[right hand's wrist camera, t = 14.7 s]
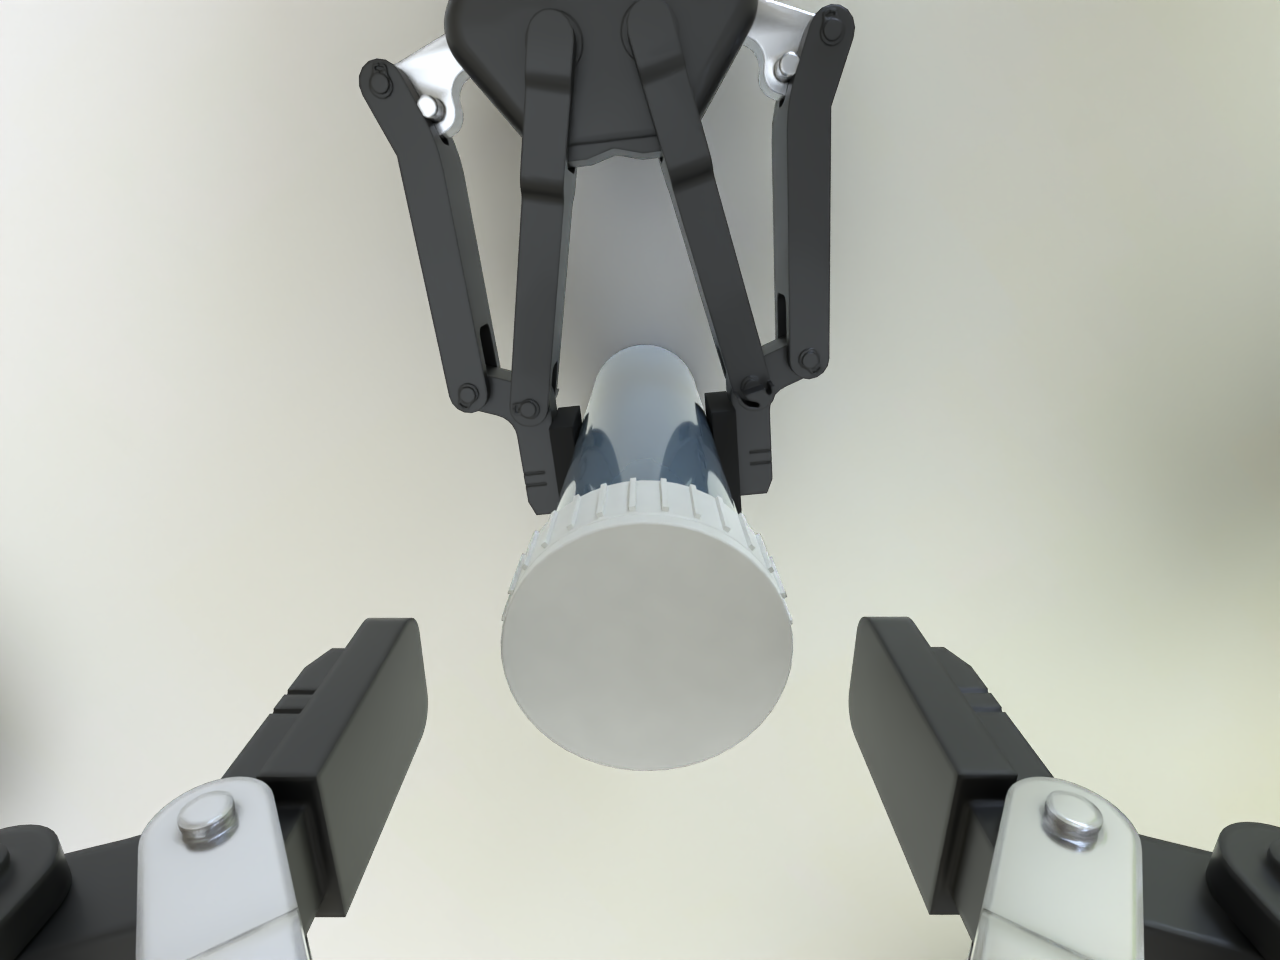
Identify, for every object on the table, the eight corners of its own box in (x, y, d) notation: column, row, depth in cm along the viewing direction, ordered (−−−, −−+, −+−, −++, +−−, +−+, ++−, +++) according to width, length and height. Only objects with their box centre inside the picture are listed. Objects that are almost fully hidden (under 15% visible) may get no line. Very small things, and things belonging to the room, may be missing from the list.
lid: (736, 725, 15) (749, 797, 13) (497, 679, 14) (474, 746, 12) (811, 507, 13) (839, 555, 11) (541, 449, 13) (523, 487, 11)
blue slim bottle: (682, 454, 30) (733, 761, 13) (583, 433, 30) (502, 717, 13) (708, 357, 29) (805, 557, 12) (605, 333, 29) (545, 501, 11)
